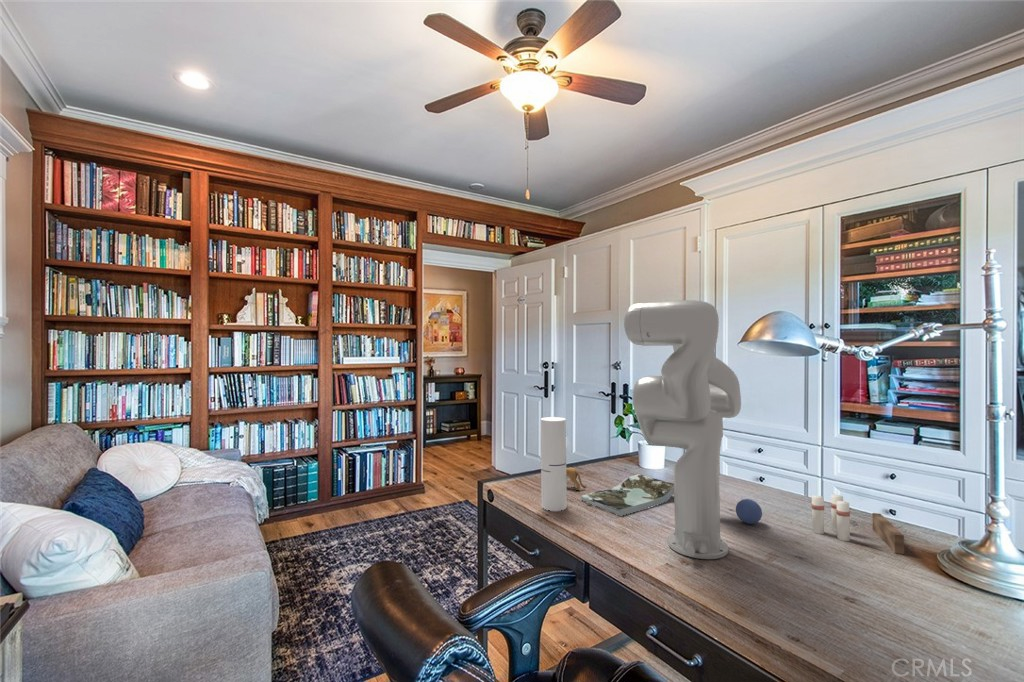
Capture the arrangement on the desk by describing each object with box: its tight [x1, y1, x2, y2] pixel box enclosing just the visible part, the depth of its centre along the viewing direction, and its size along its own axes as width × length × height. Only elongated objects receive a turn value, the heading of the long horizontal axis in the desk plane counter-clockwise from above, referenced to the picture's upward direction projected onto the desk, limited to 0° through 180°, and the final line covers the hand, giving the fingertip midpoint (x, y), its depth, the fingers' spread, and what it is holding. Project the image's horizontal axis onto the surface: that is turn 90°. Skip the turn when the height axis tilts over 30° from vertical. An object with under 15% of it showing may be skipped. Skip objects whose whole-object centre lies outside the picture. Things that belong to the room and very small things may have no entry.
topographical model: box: [580, 473, 674, 517], centre depth 134 cm, size 26×15×5 cm, turn 124°
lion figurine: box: [566, 467, 587, 491], centre depth 146 cm, size 15×5×9 cm, turn 71°
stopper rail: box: [872, 512, 905, 555], centre depth 104 cm, size 14×2×4 cm, turn 157°
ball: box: [735, 498, 763, 525], centre depth 115 cm, size 6×6×6 cm
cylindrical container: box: [540, 416, 568, 512], centre depth 129 cm, size 7×7×25 cm
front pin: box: [810, 494, 825, 535], centre depth 110 cm, size 3×3×8 cm
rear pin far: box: [830, 493, 844, 533], centre depth 110 cm, size 3×3×8 cm
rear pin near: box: [836, 500, 851, 542], centre depth 105 cm, size 3×3×8 cm
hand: (708, 498), depth 120 cm, fingers closed
